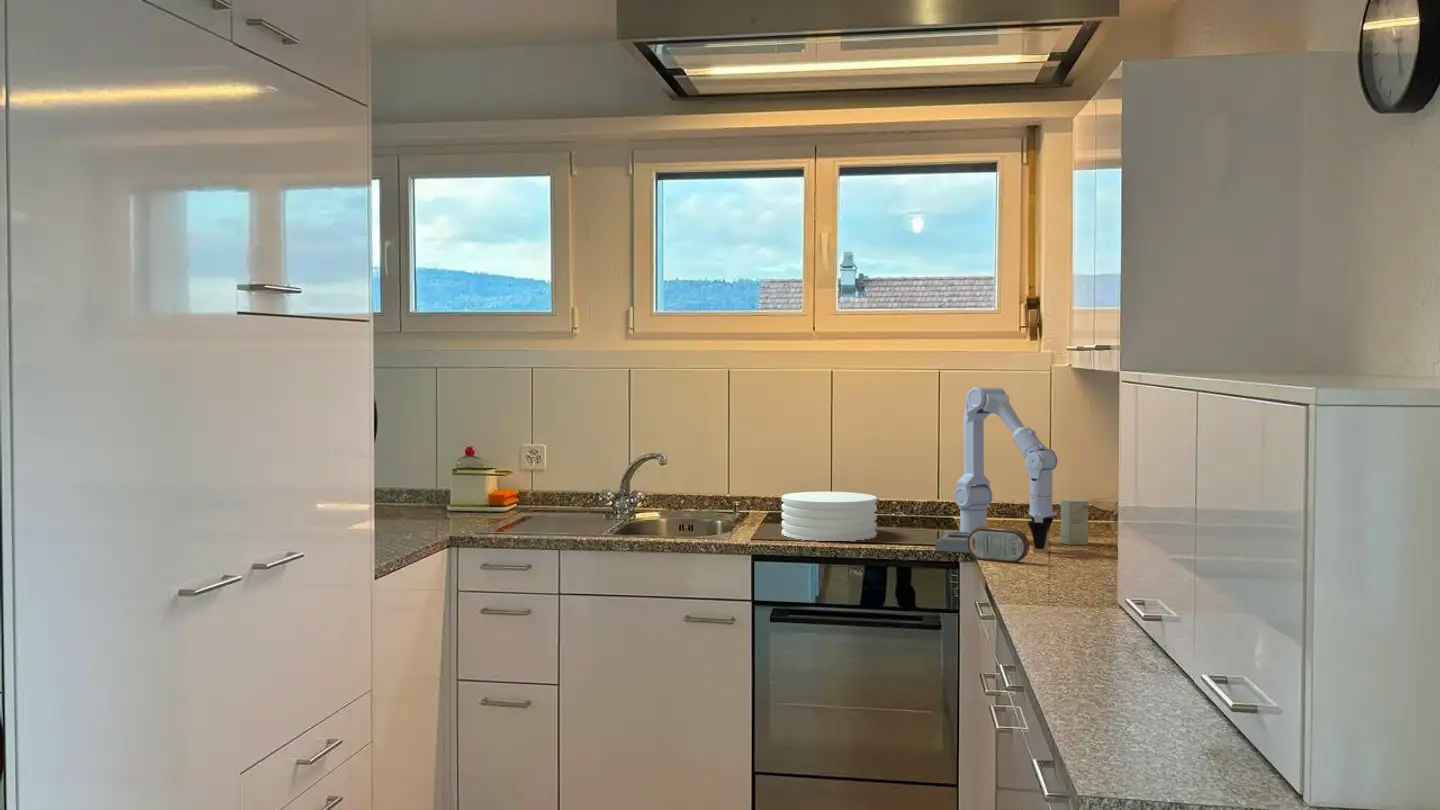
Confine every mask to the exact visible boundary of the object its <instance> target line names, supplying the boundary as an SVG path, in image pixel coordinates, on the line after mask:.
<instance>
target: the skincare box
mask: <svg viewBox="0 0 1440 810" xmlns="http://www.w3.org/2000/svg"><path fill="white" fill-rule="evenodd" d="M1089 503H1090V502H1089V500H1083V499H1061V500H1060V543H1061V544H1063V545H1070V546H1072V545H1073V546H1076V545H1077V546H1078V545H1089Z"/></svg>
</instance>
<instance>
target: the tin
mask: <svg viewBox="0 0 1440 810" xmlns="http://www.w3.org/2000/svg"><path fill="white" fill-rule="evenodd" d="M967 545H968V549H969V551H970V553H969V554H971V555H972V556H973V557H974V558H975V559H978V560H981V561H988V562H989V561H990V562H1000V563H1001V562H1002V563H1011V564H1012V563H1013V564H1014V563H1018V562H1020V561H1022V560H1024V559H1025V558H1026V557H1027V555H1028V553H1029V550H1030V543H1029V540H1028V537H1027V536H1026V534H1024V532H1022V531H1021V530H1019V529H1016V528H1008V527H996V526H988V525H986V526H981V527H978V528H976V529H974V530H973V531H972V532H971V533H970V535H969V537H968V540H967Z"/></svg>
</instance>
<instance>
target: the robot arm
mask: <svg viewBox="0 0 1440 810" xmlns="http://www.w3.org/2000/svg"><path fill="white" fill-rule="evenodd" d="M991 414H994V415H997V417H999V419H1000V420H1001V421H1002V423H1004V425H1005V426H1006V427H1007V429H1009V430H1010V432H1011V433H1012V434H1013V436H1012V441H1013V443H1014V444H1015V446H1016V447H1017V448H1018V450H1019V451H1020V452H1021V454H1022V455H1023V456H1024V458H1025V460H1024V464H1025V465H1024V466H1025V468H1026V469H1027V474H1028V478H1029V511H1028V515H1029V516H1031V520H1028V522H1027V524H1028V527H1029V529H1030V531H1031V534H1032V539H1033V540H1034V545H1035V549H1044V546H1045V541H1046V535H1047V531H1048V534H1049V532H1050V529H1051V525H1052V522H1053V521H1054V517H1053V516H1057V515H1058V512H1057V511H1056V512H1055V511H1053V480H1054V478H1053V470H1054V471H1055V469H1056V468H1057V465H1058V457H1057V455H1056V453H1055V451H1054V450H1053V449H1051V448H1047V446H1046V445H1045V444H1044V443H1042V441H1041V440H1040V439H1039V437H1038V436H1037V435H1036V434H1037V433H1036V431H1035V430H1034V429H1032V428H1030V427H1025V425H1024V424H1023V423H1022V421H1021V419H1020V417H1019V416H1018V414H1017V413H1016V411H1015V410H1014V408H1013V407H1012V405H1011V403H1010V396H1009V395H1008V394H1007V393H1006V391H1005V390H1004V388H1002V387H1000V386H995V387H988V386H987V387H985V386H984V387H981V386H979V387H978V386H975V387H972V388H971V389H969V390H968V392H967V393H966V394H965V408H964V411H963V475H962V476H961V477H960V478H959V479H958V480H957V481H956V488H955V491H954V502H955V504H956V506H957V507H958V509H960V514H959V516H960V518H959V520H960V521H959V523H960V524H959V525H960V526H959V527H960V530H959V531H967V532H972V531H973V530H974V529H976V528H978V527H981V526H987V510H988V509H989V505H990V504H991V503H992V501H993V491H992V490H991V489H992V488H991V481H990V480H989V478H987V476H985V456H984V455H985V454H984V452H985V449H984V446H985V445H984V443H985V440H984V436H985V434H984V431H985V430H984V425H985V424H984V421H985V419H987V418H988V416H990V415H991ZM1033 540H1032V541H1033Z"/></svg>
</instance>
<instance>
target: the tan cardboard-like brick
mask: <svg viewBox="0 0 1440 810" xmlns="http://www.w3.org/2000/svg"><path fill="white" fill-rule="evenodd" d="M1032 541H1033V543H1032V544H1033V545H1032V548H1033V549H1032V552H1033V553H1034V554H1046V555H1047V554H1048V553H1049V533H1048V531H1047V535H1046V541H1045V546H1044V549H1035V545H1034V540H1032Z"/></svg>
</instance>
